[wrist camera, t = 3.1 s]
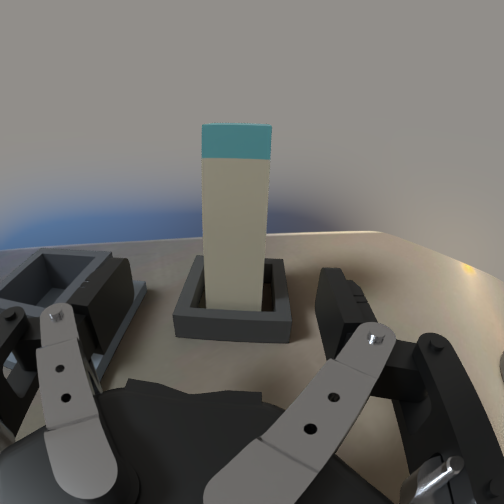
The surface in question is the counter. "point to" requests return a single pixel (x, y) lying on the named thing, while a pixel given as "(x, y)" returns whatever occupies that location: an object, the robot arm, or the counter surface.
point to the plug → (235, 213)
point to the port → (60, 289)
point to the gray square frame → (234, 311)
